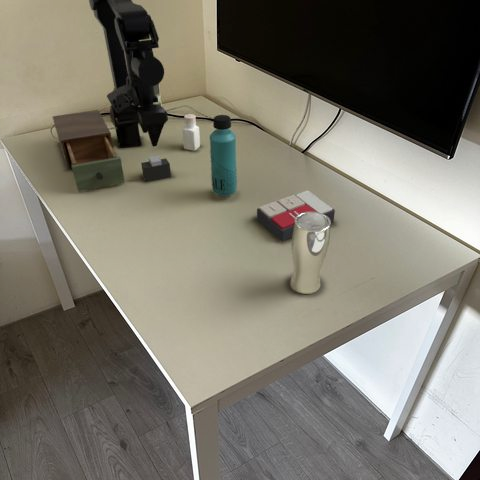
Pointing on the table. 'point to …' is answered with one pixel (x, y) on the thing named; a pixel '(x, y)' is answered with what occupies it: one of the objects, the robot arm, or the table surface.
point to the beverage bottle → (223, 157)
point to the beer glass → (309, 250)
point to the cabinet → (79, 129)
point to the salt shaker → (191, 133)
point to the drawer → (94, 163)
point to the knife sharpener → (156, 169)
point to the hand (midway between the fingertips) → (149, 139)
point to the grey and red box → (291, 213)
